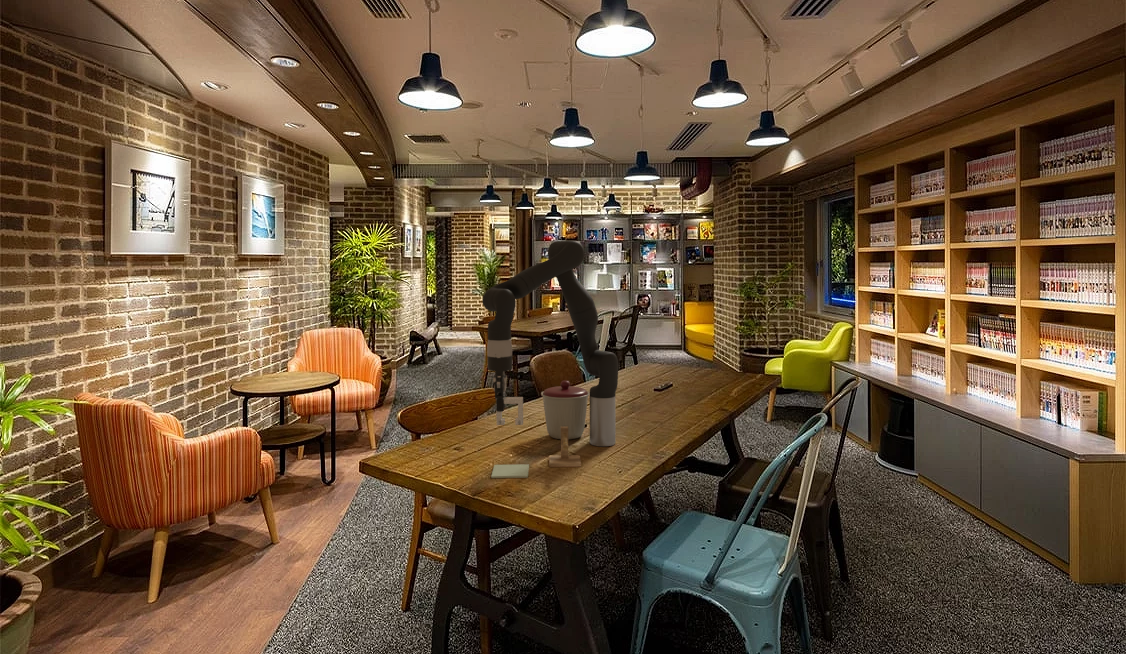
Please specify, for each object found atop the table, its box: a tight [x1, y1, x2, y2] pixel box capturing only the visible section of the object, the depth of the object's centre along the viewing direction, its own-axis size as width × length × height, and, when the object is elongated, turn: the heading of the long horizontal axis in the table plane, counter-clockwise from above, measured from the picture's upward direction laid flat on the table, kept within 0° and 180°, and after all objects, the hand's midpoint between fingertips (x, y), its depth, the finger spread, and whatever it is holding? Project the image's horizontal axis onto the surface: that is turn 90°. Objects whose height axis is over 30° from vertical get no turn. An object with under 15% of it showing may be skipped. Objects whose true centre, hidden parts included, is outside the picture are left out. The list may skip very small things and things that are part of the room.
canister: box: [540, 380, 590, 440], centre depth 237 cm, size 18×18×21 cm
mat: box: [490, 463, 530, 479], centre depth 198 cm, size 11×11×1 cm
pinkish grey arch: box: [495, 396, 524, 426], centre depth 196 cm, size 3×8×8 cm, turn 91°
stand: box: [548, 427, 582, 468], centre depth 202 cm, size 19×10×11 cm, turn 1°
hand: (500, 409), depth 196 cm, fingers closed on pinkish grey arch, 3 cm apart
